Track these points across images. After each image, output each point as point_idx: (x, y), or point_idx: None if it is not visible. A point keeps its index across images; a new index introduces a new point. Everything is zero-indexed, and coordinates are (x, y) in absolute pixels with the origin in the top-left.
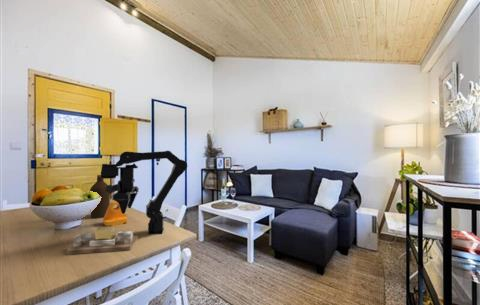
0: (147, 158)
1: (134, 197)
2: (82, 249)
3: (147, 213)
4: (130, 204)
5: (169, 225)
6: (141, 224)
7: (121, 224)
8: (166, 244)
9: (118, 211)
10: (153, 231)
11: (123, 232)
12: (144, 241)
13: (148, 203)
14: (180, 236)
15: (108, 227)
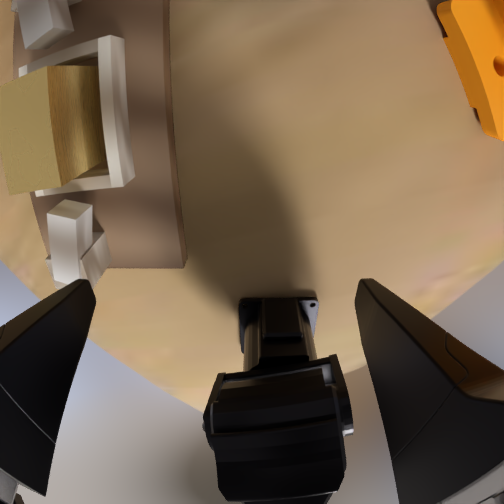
0: None
1: (393, 462)
2: (14, 58)
3: (212, 409)
4: (370, 339)
5: (355, 357)
6: (432, 223)
7: (467, 96)
8: (128, 364)
9: None
10: (245, 327)
11: (58, 248)
12: (147, 295)
13: (340, 448)
14: (205, 397)
15: (35, 150)
